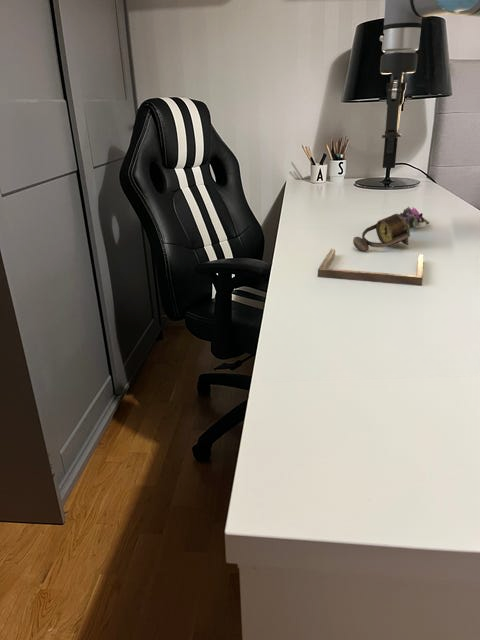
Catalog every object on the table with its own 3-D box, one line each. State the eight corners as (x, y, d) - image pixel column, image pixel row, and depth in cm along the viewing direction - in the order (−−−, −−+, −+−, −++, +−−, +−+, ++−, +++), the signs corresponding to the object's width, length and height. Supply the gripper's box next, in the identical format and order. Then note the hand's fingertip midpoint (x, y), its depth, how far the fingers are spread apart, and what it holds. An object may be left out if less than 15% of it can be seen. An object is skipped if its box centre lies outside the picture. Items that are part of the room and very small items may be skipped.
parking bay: (422, 261, 103) (423, 254, 102) (421, 285, 91) (422, 277, 90) (330, 255, 109) (330, 248, 108) (317, 276, 96) (317, 269, 96)
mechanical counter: (421, 228, 106) (408, 208, 114) (361, 224, 106) (353, 204, 114) (411, 258, 111) (400, 236, 119) (354, 254, 110) (347, 233, 118)
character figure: (391, 218, 140) (392, 230, 126) (392, 204, 139) (394, 215, 124) (426, 219, 138) (432, 231, 124) (428, 205, 137) (434, 216, 122)
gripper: (383, 55, 113) (374, 163, 123) (378, 51, 102) (369, 171, 112) (418, 53, 111) (406, 164, 121) (417, 49, 100) (404, 172, 109)
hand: (388, 167), depth 116 cm, fingers closed
